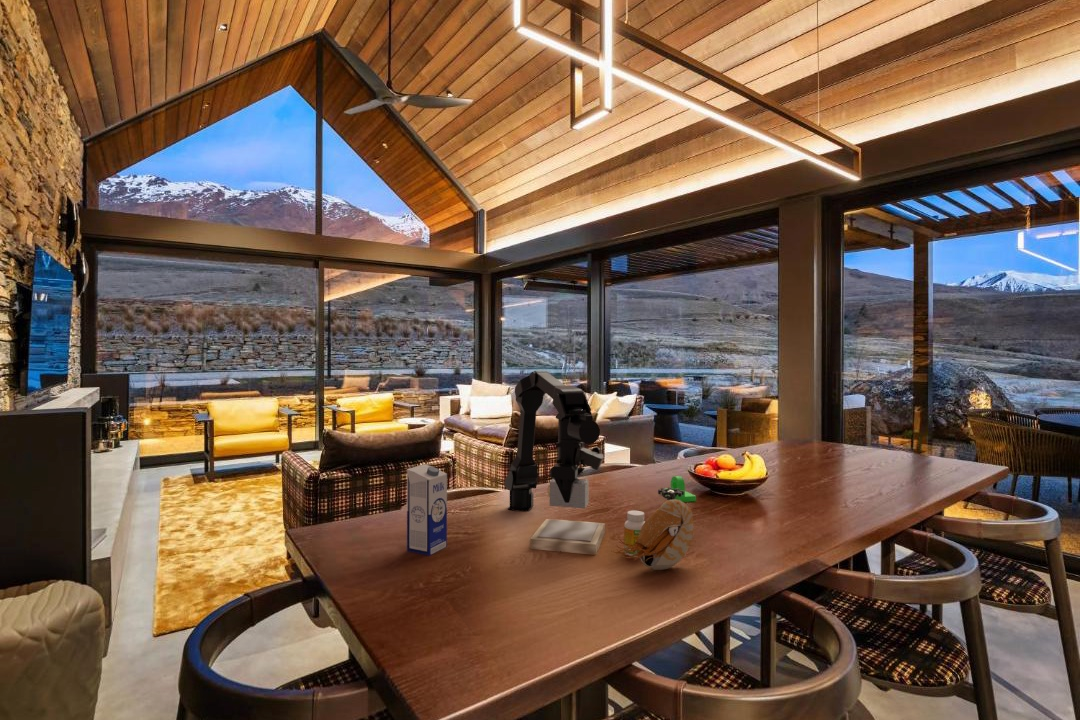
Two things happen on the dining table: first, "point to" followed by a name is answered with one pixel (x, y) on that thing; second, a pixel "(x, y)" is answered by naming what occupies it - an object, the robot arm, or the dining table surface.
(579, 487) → the block
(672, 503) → the nautilus
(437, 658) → the dining table surface
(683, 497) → the mechanical part
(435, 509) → the milk carton
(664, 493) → the valve
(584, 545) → the stand
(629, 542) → the supplement bottle
